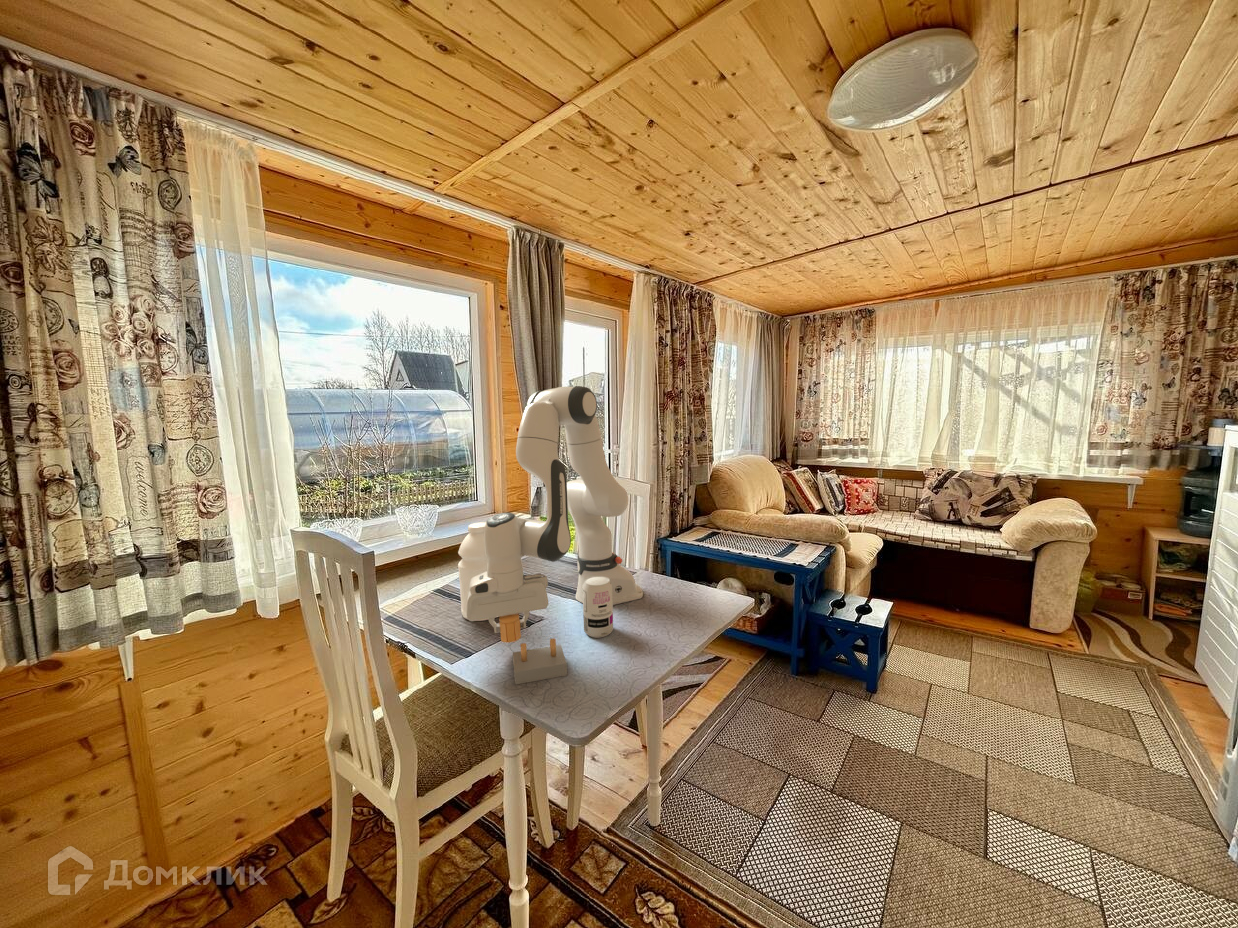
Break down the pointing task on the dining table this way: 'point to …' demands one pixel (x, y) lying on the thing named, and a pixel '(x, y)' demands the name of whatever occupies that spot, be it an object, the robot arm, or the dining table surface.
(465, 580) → the bottle
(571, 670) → the dining table surface
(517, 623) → the wire nut cap
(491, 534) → the robot arm
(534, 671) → the pegged grey base
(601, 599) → the supplement can
